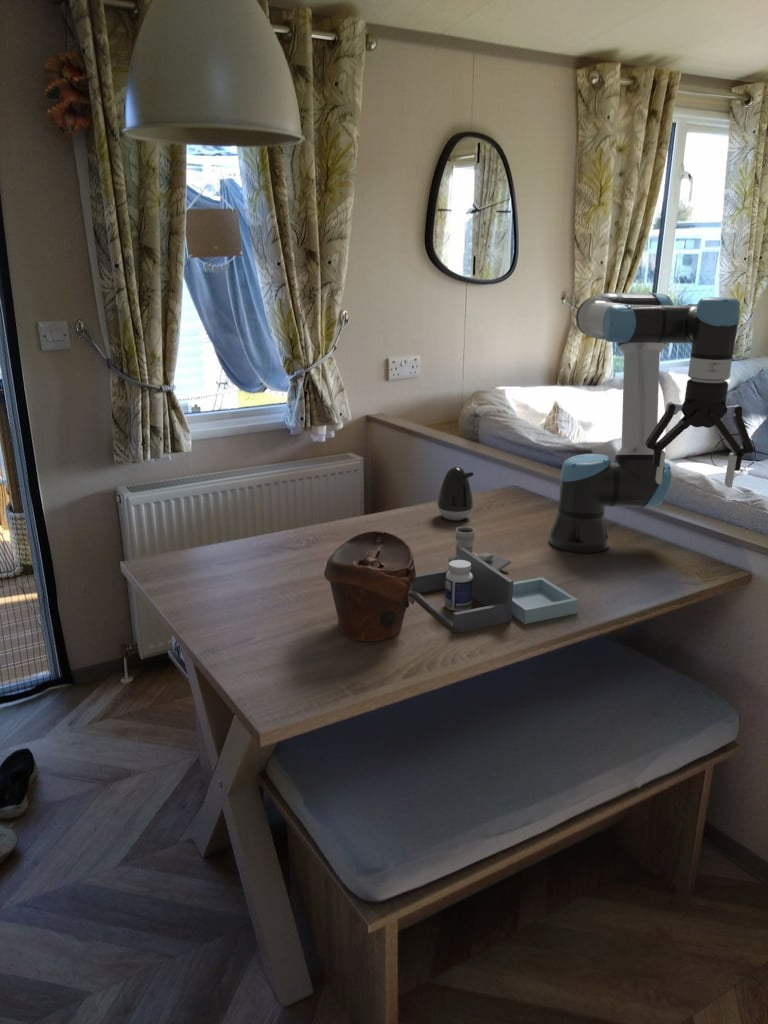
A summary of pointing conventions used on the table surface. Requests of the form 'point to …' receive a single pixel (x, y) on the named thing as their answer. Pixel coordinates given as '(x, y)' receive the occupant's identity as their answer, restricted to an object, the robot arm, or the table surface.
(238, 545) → the table surface
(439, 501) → the pump dispenser
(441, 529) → the table surface
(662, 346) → the robot arm
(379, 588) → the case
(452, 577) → the pill bottle
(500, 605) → the stand
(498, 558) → the camera
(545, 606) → the tray
